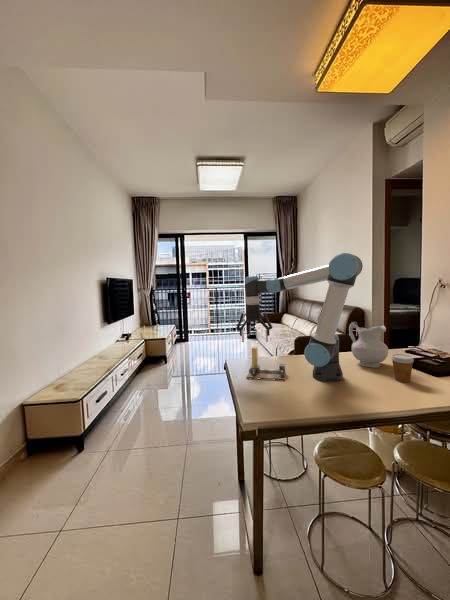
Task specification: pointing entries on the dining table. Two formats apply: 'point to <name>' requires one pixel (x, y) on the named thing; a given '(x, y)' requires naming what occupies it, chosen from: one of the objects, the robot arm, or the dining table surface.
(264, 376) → the pitch board
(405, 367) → the disposable coffee cup
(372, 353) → the ceramic pitcher
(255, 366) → the sliding leg
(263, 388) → the dining table surface
